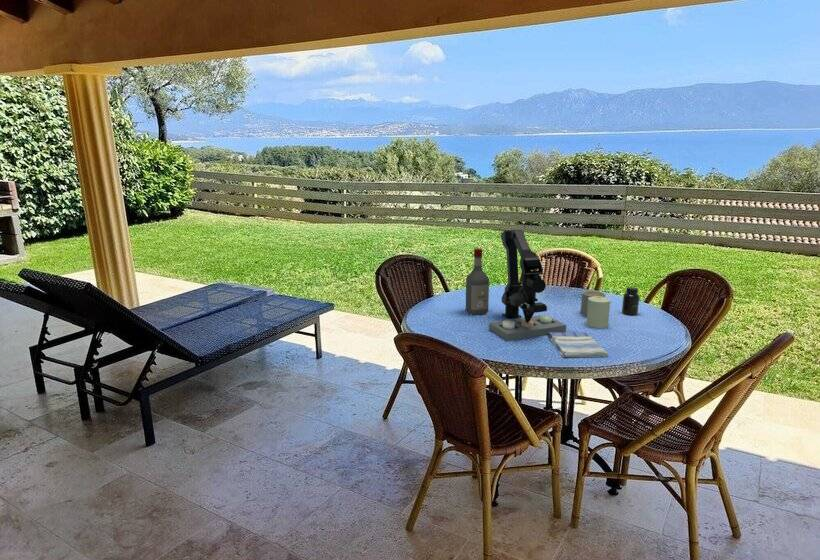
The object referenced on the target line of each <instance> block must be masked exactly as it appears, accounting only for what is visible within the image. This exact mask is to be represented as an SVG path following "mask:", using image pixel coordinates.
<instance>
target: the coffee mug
mask: <svg viewBox="0 0 820 560" xmlns="http://www.w3.org/2000/svg"><path fill="white" fill-rule="evenodd" d="M592 296H601V297H606V293H605V292H603V291H600V290H591V289H590V290H584V291H582V292H581V303H580V315H581V314H582V315H581V316H583V317H586V318H587V311H588V298H589V297H592Z"/></svg>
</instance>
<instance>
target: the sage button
mask: <svg viewBox="0 0 820 560" xmlns="http://www.w3.org/2000/svg"><path fill="white" fill-rule="evenodd" d="M541 315H542V316H540V323H542V324H549V323H552V318H553V317H552V316H551V315H547V314H541Z"/></svg>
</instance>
